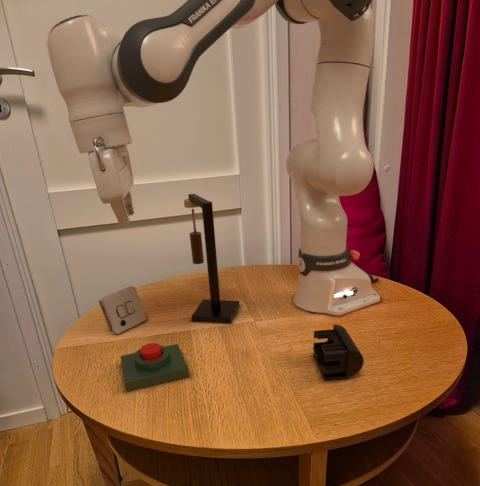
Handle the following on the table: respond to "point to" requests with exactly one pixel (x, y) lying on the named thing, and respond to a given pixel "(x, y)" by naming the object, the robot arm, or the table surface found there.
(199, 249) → the pull handle
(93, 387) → the table surface
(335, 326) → the end cap
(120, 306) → the electrical switch
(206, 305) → the hanging handle stand
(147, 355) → the button
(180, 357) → the button box
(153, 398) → the table surface
